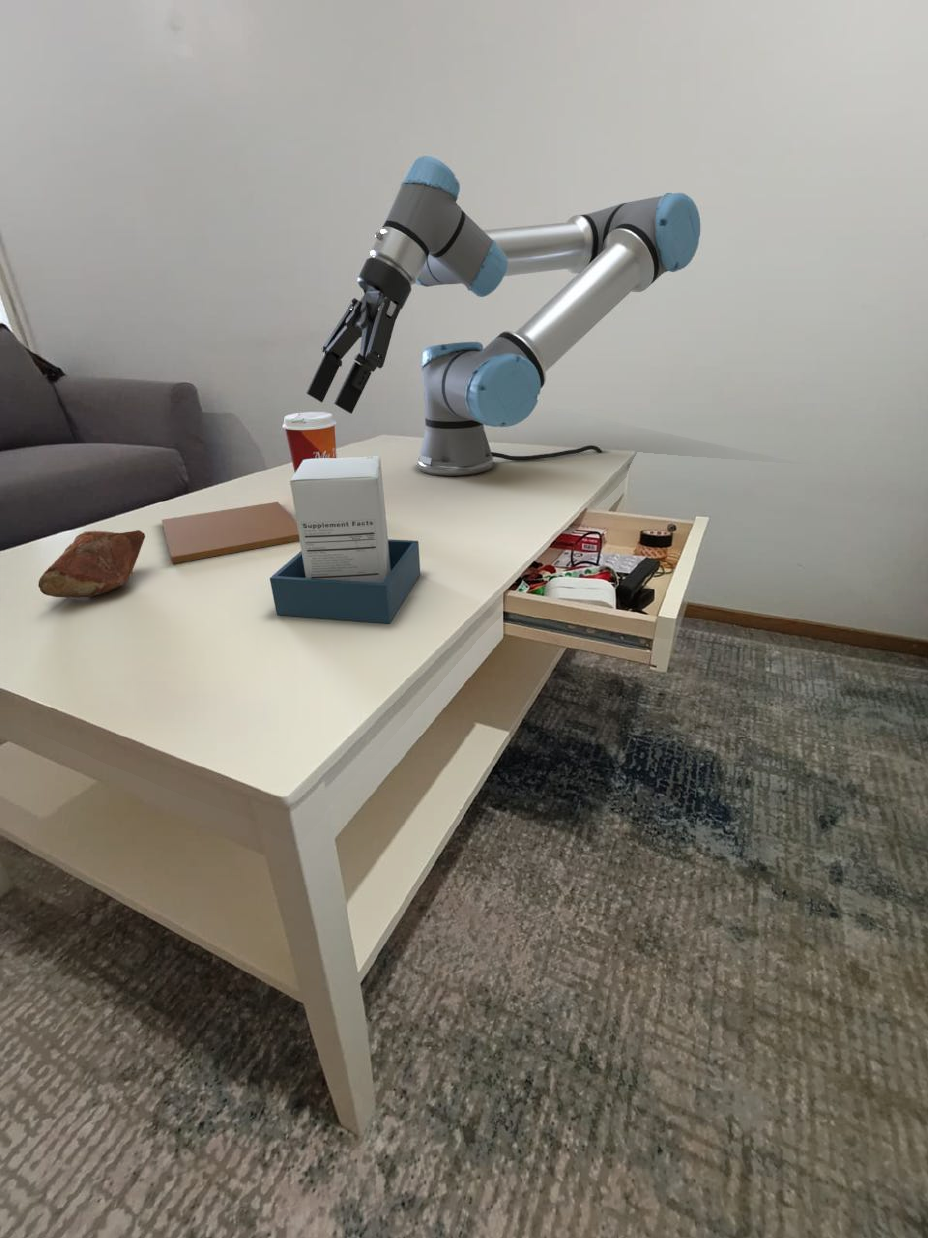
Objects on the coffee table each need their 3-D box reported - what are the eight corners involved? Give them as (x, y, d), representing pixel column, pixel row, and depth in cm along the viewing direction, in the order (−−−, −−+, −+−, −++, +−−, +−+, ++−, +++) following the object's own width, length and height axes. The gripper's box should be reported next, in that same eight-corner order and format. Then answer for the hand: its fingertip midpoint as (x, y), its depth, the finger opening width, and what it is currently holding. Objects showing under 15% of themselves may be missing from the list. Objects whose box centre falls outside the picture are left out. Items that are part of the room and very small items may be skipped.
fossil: (143, 535, 78) (107, 486, 69) (180, 574, 76) (148, 529, 67) (53, 594, 73) (1, 549, 64) (89, 637, 71) (41, 597, 62)
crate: (420, 574, 74) (418, 540, 72) (389, 623, 62) (386, 585, 60) (323, 568, 76) (318, 535, 74) (276, 615, 65) (269, 577, 63)
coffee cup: (335, 518, 94) (322, 420, 87) (287, 515, 95) (271, 419, 88) (354, 502, 101) (343, 411, 94) (309, 500, 103) (296, 410, 95)
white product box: (319, 579, 73) (301, 457, 66) (392, 575, 73) (381, 454, 66) (308, 613, 65) (286, 478, 58) (390, 608, 65) (378, 474, 58)
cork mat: (278, 507, 100) (277, 501, 99) (306, 539, 86) (305, 532, 85) (163, 525, 92) (161, 519, 92) (172, 564, 78) (170, 557, 78)
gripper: (340, 260, 95) (283, 382, 98) (406, 247, 76) (333, 399, 79) (378, 290, 99) (323, 405, 102) (449, 285, 80) (379, 427, 83)
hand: (327, 403), depth 91 cm, fingers open, 13 cm apart
